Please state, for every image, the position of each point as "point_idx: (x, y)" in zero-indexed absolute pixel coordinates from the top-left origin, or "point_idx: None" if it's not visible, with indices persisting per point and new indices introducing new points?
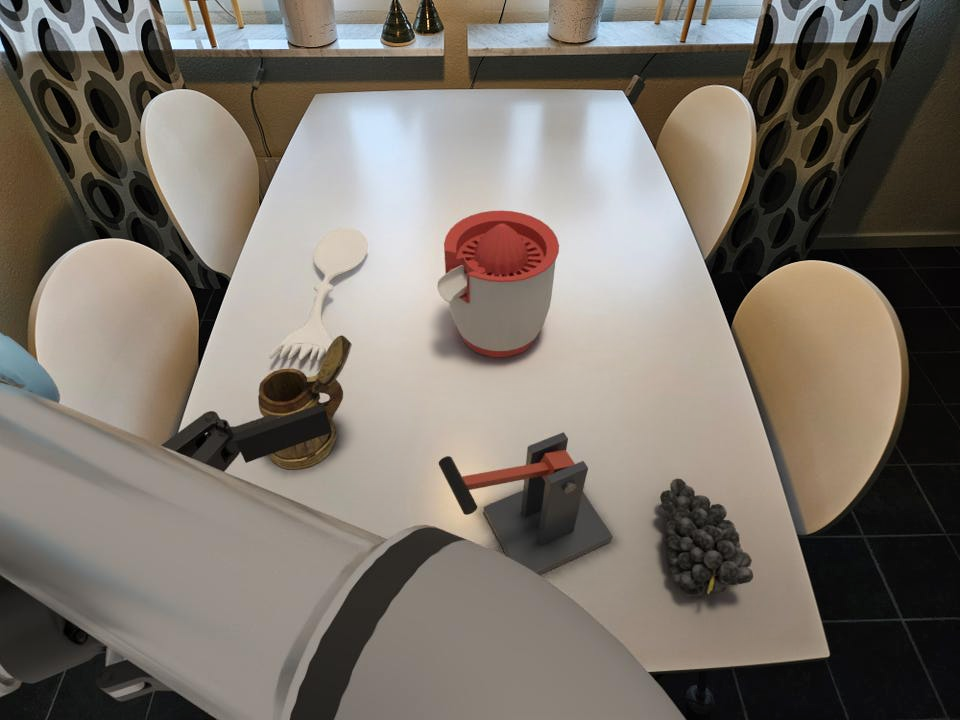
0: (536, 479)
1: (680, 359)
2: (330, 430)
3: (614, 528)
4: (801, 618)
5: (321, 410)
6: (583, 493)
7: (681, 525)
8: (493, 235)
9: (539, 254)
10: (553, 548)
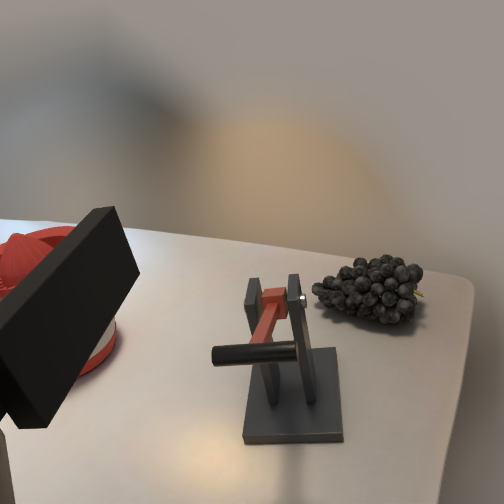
0: None
1: (214, 262)
2: (137, 267)
3: None
4: (448, 278)
5: (107, 210)
6: None
7: (361, 283)
8: (13, 247)
9: None
10: (323, 393)
